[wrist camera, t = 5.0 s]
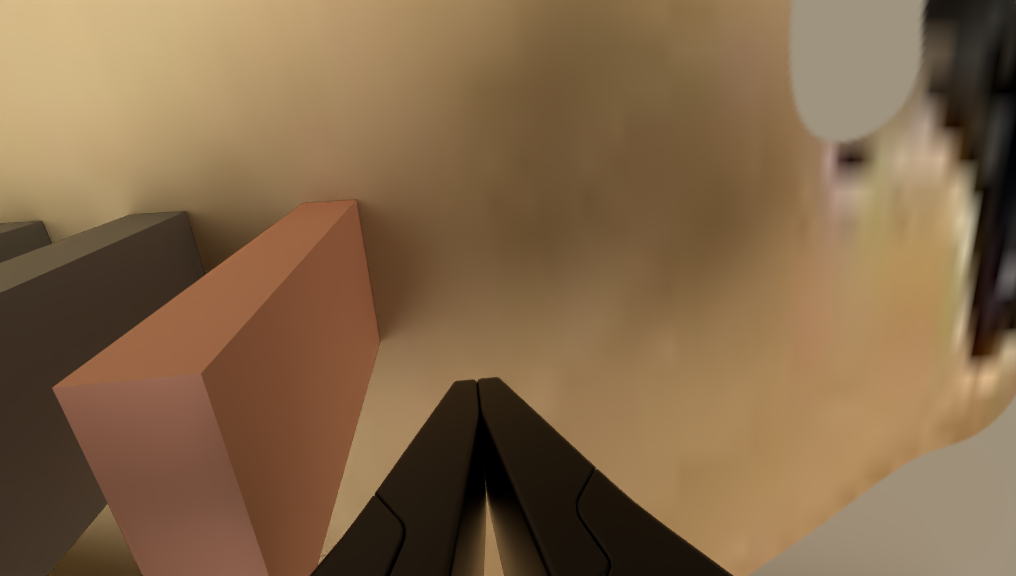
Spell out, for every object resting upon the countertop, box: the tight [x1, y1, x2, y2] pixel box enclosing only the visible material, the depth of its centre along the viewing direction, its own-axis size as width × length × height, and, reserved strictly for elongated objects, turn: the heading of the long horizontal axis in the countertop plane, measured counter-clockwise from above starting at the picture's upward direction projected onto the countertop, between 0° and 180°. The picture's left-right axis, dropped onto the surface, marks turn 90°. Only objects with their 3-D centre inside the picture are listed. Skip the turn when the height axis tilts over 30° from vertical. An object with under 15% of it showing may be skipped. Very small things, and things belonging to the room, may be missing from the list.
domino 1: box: [52, 200, 380, 576], centre depth 11 cm, size 2×5×10 cm, turn 3°
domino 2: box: [0, 211, 205, 576], centre depth 11 cm, size 2×5×10 cm, turn 2°
